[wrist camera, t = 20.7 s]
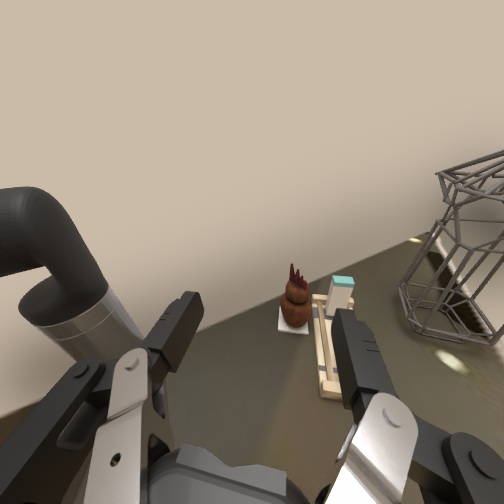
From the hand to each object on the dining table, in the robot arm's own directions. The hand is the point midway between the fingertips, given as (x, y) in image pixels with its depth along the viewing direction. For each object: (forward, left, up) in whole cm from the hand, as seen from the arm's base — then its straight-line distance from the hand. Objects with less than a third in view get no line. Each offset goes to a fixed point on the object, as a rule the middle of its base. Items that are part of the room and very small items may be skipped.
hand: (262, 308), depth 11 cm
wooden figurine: (+4, +20, -28) cm, 34 cm away
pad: (+4, +20, -28) cm, 35 cm away
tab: (+13, +22, -27) cm, 37 cm away
